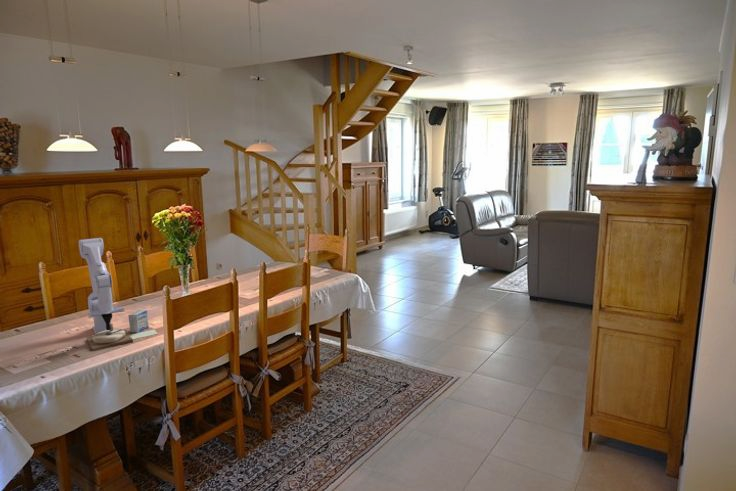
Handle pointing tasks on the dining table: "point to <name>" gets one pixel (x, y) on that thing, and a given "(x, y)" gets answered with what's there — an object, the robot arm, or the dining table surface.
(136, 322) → the medicine box
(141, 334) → the mat
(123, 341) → the base board
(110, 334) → the index wheel
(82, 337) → the dining table surface
